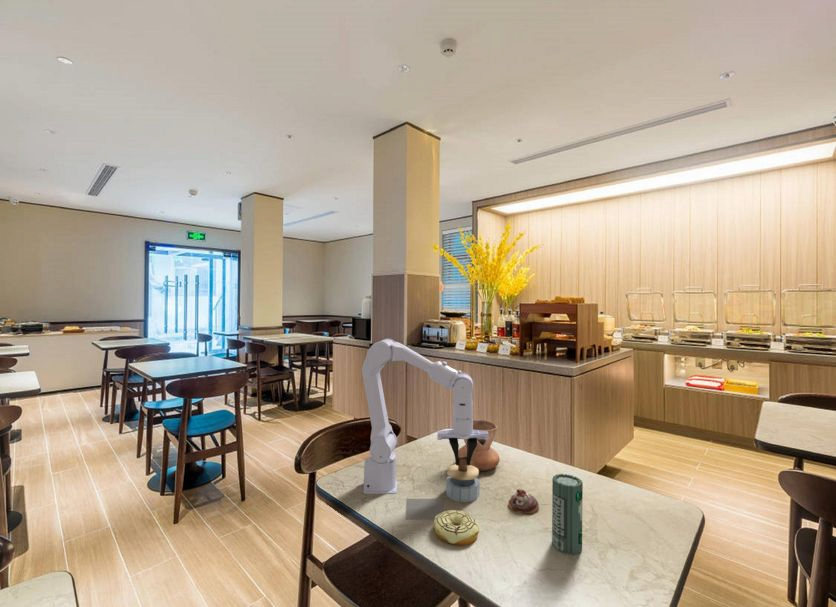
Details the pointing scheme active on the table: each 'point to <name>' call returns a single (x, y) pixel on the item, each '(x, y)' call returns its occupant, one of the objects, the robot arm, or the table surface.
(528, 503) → the pastry
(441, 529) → the decorated donut
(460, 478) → the bamboo lid
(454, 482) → the bowl
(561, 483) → the can
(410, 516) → the rubber mat
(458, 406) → the robot arm
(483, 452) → the ceramic jug
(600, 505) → the table surface
